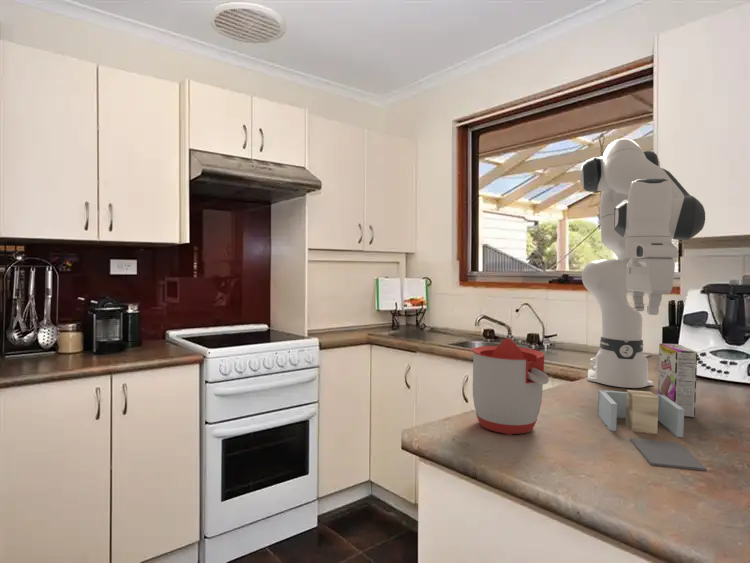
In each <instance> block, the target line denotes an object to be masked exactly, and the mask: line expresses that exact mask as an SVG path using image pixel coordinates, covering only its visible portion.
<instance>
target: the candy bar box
mask: <svg viewBox="0 0 750 563" xmlns="http://www.w3.org/2000/svg"><path fill="white" fill-rule="evenodd" d="M658 346H659V347H658V349H659V350H658V379H657V380H658V385H657V386H658V387H657V394H659V395H665V396H666V397H667V398H669V399H670V400H672V401H673V402H674V403H676V404H677V405H679V406H680V407H681V408H683V409H684V418H696V401H697V400H696V399H697V394H696V393H697V372H698V370H697V369H698V366H697V365H698V352H697V351H695V350H694V349H691V348H689V347H686V346H683V345H681V344H679V343H659V345H658Z"/></svg>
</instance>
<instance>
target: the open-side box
mask: <svg viewBox="0 0 750 563" xmlns="http://www.w3.org/2000/svg"><path fill="white" fill-rule="evenodd" d="M654 394H655V393H654ZM597 395H598V396H597V397H598V399H597V415H598V417H599V418H600V419H601V421H602V422H603V423H604V425H605V426H606V425H607V426H606V428H607V429H608V430H609V431H610V430H611V432H617V419H618V418H622V419H626V404H627V391H618V390H617V391H616V390H606V389H605V390H603V389H598V394H597ZM655 395H656V396H657V397H659V402H658V422H660V423H661V424H662V425H663V426H664V427H665V428H667V430H669V431H670V432H671V433H672V434H673V435H674V436H675V437H676V438H684V426H685V424H684V423H685V417H684V409H683V408H681V407H680V406H679V405H677V404H676V403H674V402H673V401H672V400H670V399H669V398H667V397H666V396H665V395H659V394H658V393H656V394H655Z"/></svg>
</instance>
